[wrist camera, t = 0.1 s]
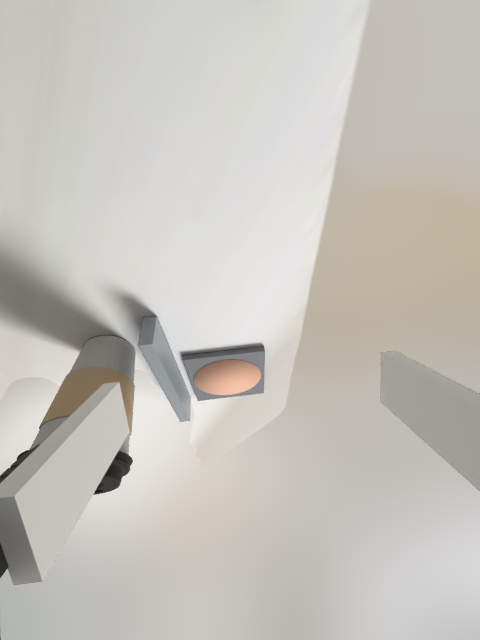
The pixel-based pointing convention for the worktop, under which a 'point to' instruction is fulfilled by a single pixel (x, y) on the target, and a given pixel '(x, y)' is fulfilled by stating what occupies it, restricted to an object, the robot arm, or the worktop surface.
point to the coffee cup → (83, 380)
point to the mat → (226, 373)
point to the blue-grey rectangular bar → (164, 366)
